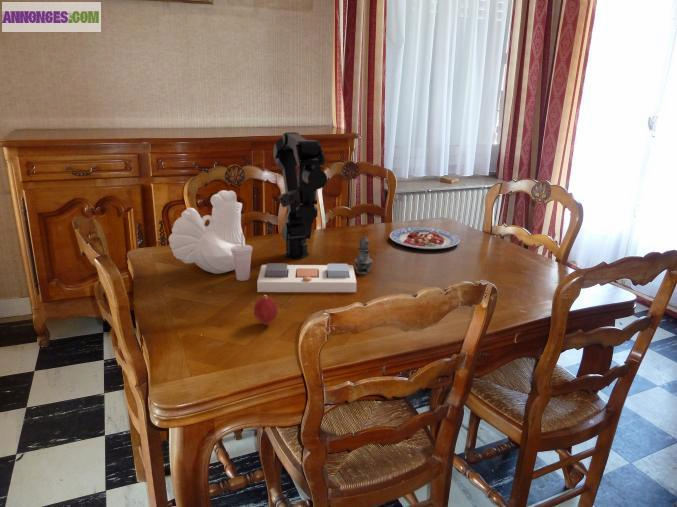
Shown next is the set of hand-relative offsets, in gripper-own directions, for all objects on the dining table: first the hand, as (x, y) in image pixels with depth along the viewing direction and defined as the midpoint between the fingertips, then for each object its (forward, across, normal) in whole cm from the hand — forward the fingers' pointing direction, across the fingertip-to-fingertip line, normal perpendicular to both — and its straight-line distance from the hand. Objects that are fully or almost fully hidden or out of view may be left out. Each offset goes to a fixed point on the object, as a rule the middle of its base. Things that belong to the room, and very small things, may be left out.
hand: (307, 232), depth 163 cm
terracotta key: (+12, +12, 0) cm, 17 cm away
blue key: (+10, +12, +9) cm, 18 cm away
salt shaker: (+12, +2, +18) cm, 22 cm away
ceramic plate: (+12, -29, +43) cm, 53 cm away
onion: (+12, +39, -10) cm, 42 cm away
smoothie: (+12, +9, -19) cm, 24 cm away
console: (+12, +12, 0) cm, 17 cm away
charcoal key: (+10, +12, -9) cm, 18 cm away
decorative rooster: (+12, +2, -30) cm, 33 cm away
